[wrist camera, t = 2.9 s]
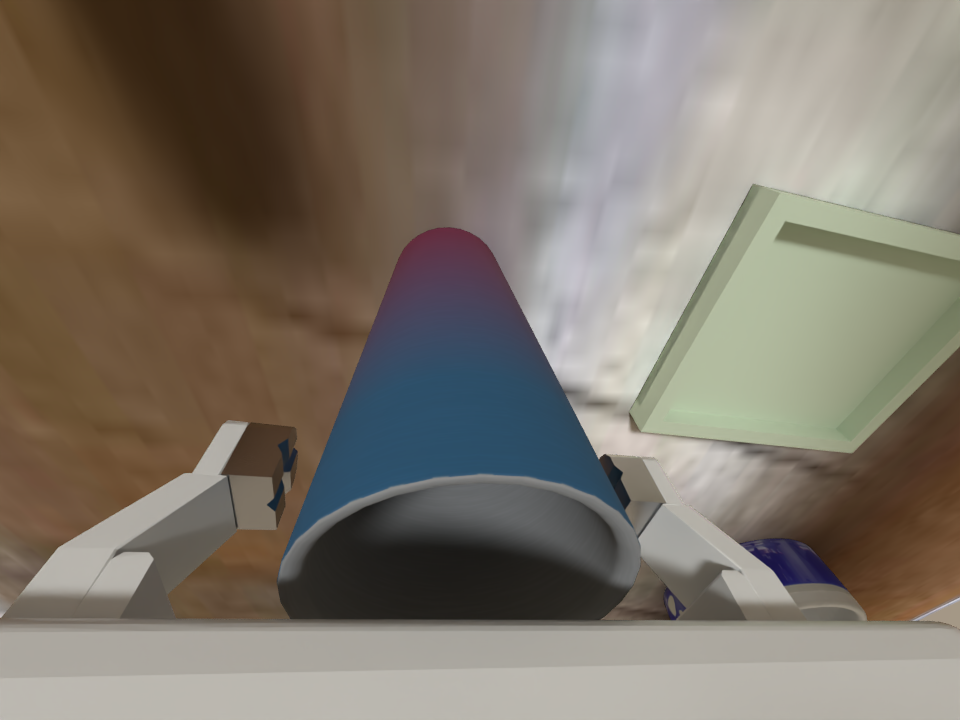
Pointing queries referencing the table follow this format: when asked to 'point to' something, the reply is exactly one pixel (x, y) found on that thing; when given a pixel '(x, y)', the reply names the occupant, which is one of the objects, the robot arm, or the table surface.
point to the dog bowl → (797, 582)
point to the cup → (457, 467)
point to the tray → (806, 327)
